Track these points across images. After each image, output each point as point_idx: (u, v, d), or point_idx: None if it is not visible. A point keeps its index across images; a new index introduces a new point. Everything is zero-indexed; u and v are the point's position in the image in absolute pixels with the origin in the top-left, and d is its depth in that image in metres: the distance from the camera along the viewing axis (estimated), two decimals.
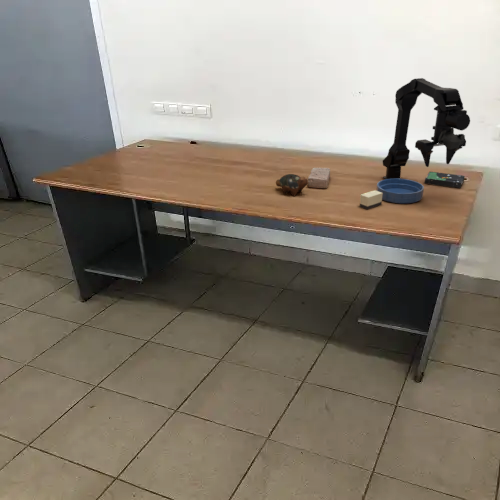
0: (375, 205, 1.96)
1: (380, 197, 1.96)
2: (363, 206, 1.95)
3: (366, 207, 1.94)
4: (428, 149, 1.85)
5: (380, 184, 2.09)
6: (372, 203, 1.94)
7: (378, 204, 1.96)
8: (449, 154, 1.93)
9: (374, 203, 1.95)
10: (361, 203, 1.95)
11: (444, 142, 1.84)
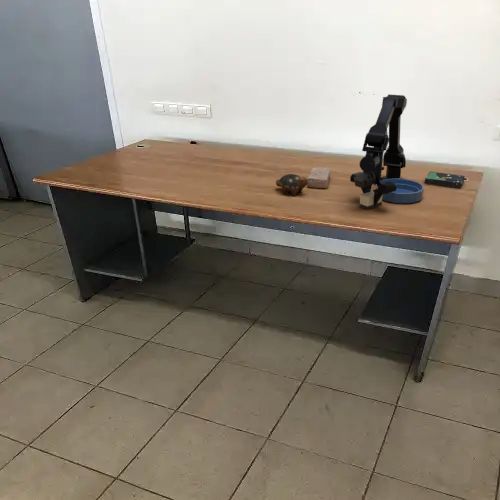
0: (375, 205, 1.96)
1: None
2: (363, 206, 1.95)
3: (366, 207, 1.94)
4: (352, 180, 1.97)
5: None
6: (372, 203, 1.94)
7: (378, 204, 1.96)
8: None
9: None
10: (361, 203, 1.95)
11: None
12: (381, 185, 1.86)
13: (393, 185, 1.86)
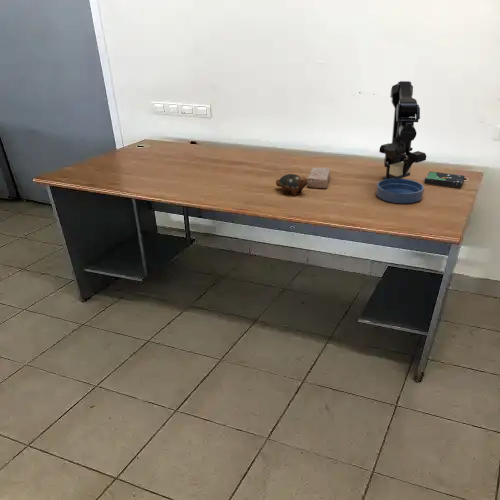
0: (404, 175, 2.00)
1: None
2: (392, 176, 1.99)
3: (395, 177, 1.98)
4: (381, 151, 2.01)
5: (380, 184, 2.09)
6: (401, 173, 1.98)
7: (407, 174, 2.01)
8: None
9: None
10: (390, 173, 1.99)
11: None
12: (411, 154, 1.90)
13: (423, 154, 1.90)
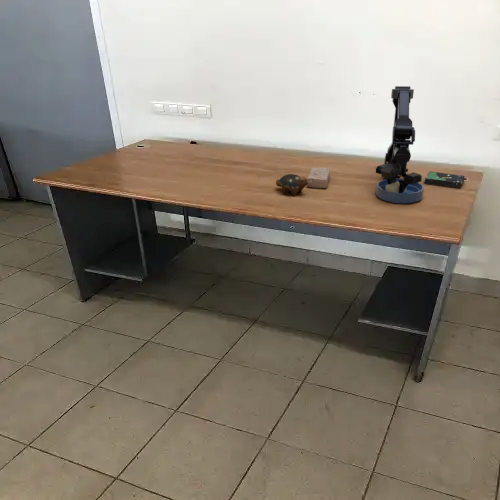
0: None
1: None
2: None
3: None
4: (378, 172, 2.04)
5: (380, 184, 2.09)
6: None
7: None
8: None
9: None
10: None
11: None
12: (407, 176, 1.93)
13: (419, 176, 1.93)
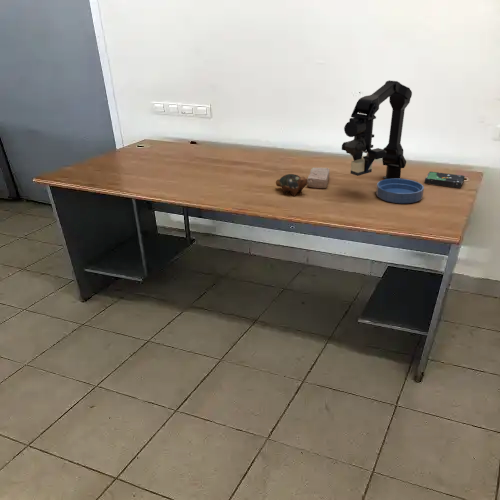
0: (365, 172, 2.01)
1: None
2: (354, 173, 2.00)
3: (356, 173, 1.99)
4: (343, 149, 2.03)
5: (380, 184, 2.09)
6: (362, 169, 2.00)
7: (368, 171, 2.02)
8: None
9: None
10: (352, 170, 2.01)
11: None
12: (371, 151, 1.92)
13: (383, 151, 1.92)
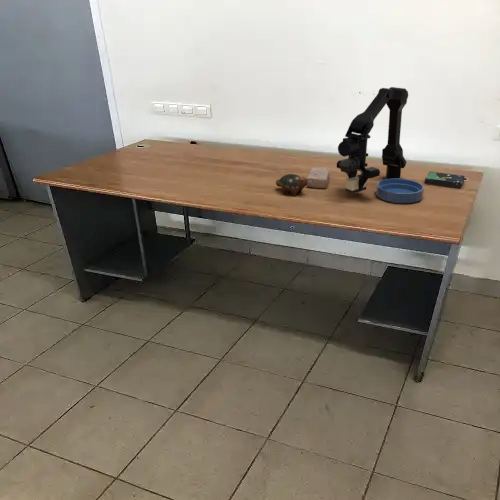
0: None
1: None
2: (348, 190, 2.04)
3: (351, 191, 2.03)
4: (338, 167, 2.06)
5: (380, 184, 2.09)
6: (357, 187, 2.03)
7: (363, 189, 2.05)
8: None
9: None
10: (346, 188, 2.04)
11: None
12: (365, 170, 1.95)
13: (376, 170, 1.95)
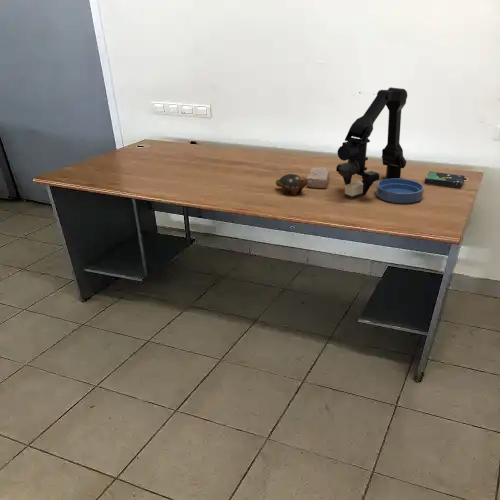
0: (359, 195, 2.06)
1: None
2: (348, 196, 2.05)
3: (351, 197, 2.04)
4: (338, 171, 2.07)
5: (380, 184, 2.09)
6: (356, 193, 2.04)
7: (362, 194, 2.06)
8: None
9: (359, 193, 2.05)
10: (346, 193, 2.05)
11: None
12: (365, 174, 1.96)
13: (376, 174, 1.96)
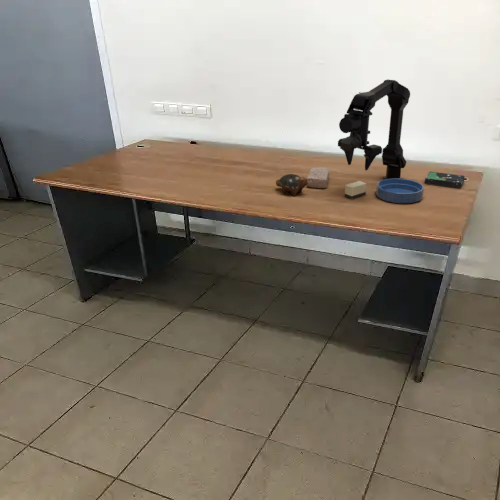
0: (359, 195, 2.06)
1: (364, 187, 2.06)
2: (348, 196, 2.05)
3: (351, 197, 2.04)
4: (340, 145, 2.02)
5: (380, 184, 2.09)
6: (356, 193, 2.04)
7: (362, 194, 2.06)
8: None
9: (359, 193, 2.05)
10: (346, 193, 2.05)
11: None
12: (367, 148, 1.91)
13: (379, 148, 1.91)
